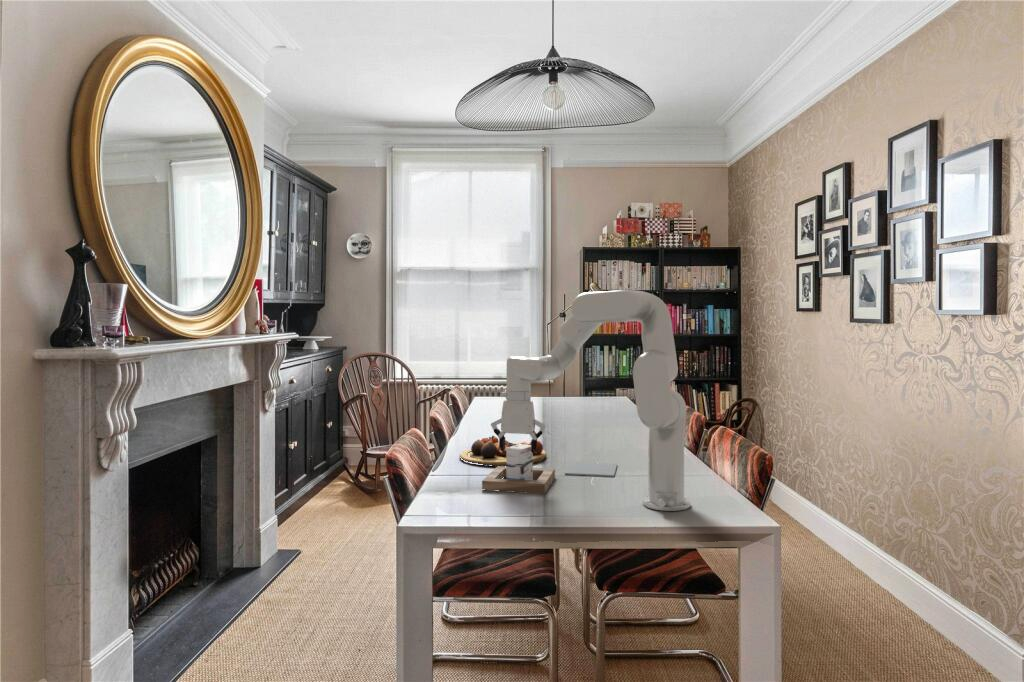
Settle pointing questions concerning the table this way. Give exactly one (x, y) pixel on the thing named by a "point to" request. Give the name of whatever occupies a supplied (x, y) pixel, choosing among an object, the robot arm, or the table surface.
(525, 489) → the square wooden frame
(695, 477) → the table surface
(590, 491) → the table surface
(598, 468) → the slate grey mat
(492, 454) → the wooden plate with food
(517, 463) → the ink box
